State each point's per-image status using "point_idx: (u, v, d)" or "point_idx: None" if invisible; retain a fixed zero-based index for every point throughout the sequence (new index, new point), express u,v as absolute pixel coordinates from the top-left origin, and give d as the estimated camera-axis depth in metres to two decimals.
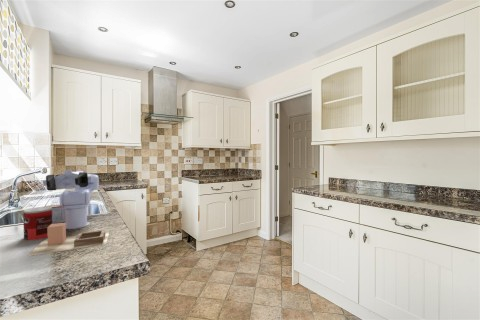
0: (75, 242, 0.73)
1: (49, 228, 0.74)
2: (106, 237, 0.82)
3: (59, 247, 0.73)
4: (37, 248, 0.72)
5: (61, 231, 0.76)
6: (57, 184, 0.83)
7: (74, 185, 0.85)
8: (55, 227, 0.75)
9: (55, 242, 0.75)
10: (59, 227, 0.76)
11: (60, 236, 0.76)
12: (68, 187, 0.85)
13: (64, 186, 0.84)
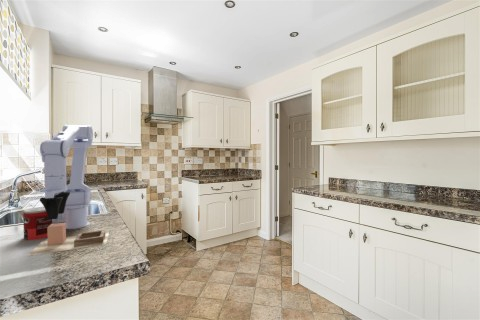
0: (75, 242, 0.73)
1: (49, 228, 0.74)
2: (106, 237, 0.82)
3: (59, 247, 0.73)
4: (37, 248, 0.72)
5: (61, 231, 0.76)
6: None
7: None
8: (55, 227, 0.75)
9: (55, 242, 0.75)
10: (59, 227, 0.76)
11: (60, 236, 0.76)
12: None
13: None
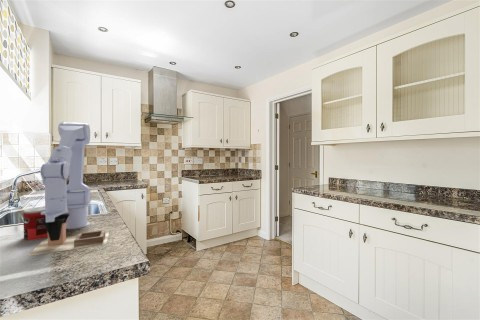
0: (75, 242, 0.73)
1: None
2: (106, 237, 0.82)
3: (59, 247, 0.73)
4: (37, 248, 0.72)
5: (61, 231, 0.76)
6: None
7: None
8: None
9: (55, 242, 0.75)
10: None
11: (60, 236, 0.76)
12: None
13: None
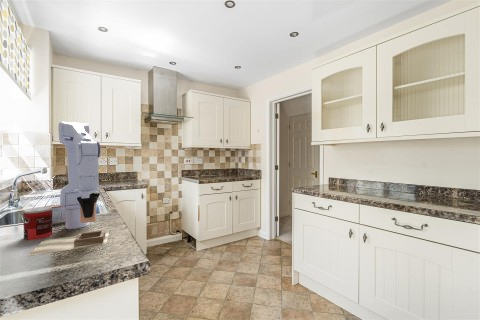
0: (75, 242, 0.73)
1: None
2: (106, 237, 0.82)
3: (59, 247, 0.73)
4: (37, 248, 0.72)
5: None
6: None
7: None
8: None
9: (87, 220, 0.76)
10: None
11: None
12: None
13: None
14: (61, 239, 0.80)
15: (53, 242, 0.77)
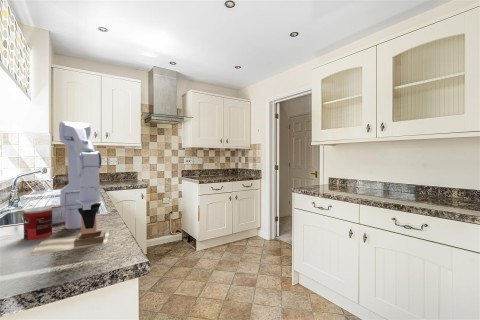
0: (75, 242, 0.73)
1: None
2: (106, 237, 0.82)
3: (59, 247, 0.73)
4: (37, 248, 0.72)
5: None
6: None
7: None
8: None
9: (88, 231, 0.77)
10: None
11: None
12: None
13: None
14: (61, 239, 0.80)
15: (53, 242, 0.77)
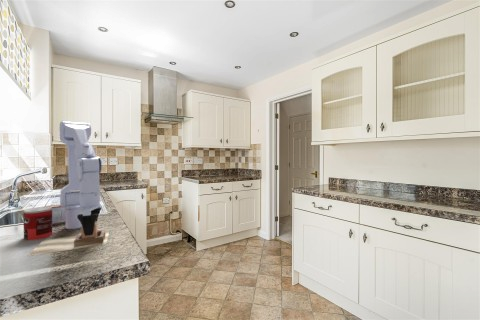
0: (75, 242, 0.73)
1: None
2: (106, 237, 0.82)
3: (59, 247, 0.73)
4: (37, 248, 0.72)
5: (94, 229, 0.77)
6: None
7: None
8: None
9: None
10: None
11: (93, 235, 0.77)
12: None
13: None
14: (61, 239, 0.80)
15: (53, 242, 0.77)
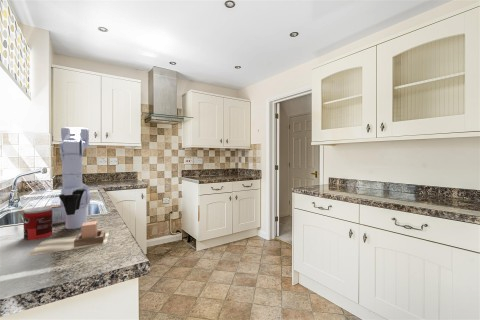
0: (75, 242, 0.73)
1: (83, 226, 0.76)
2: (106, 237, 0.82)
3: (59, 247, 0.73)
4: (37, 248, 0.72)
5: (94, 229, 0.77)
6: None
7: None
8: (89, 225, 0.77)
9: None
10: (92, 226, 0.77)
11: (93, 235, 0.77)
12: None
13: None
14: (61, 239, 0.80)
15: (53, 242, 0.77)
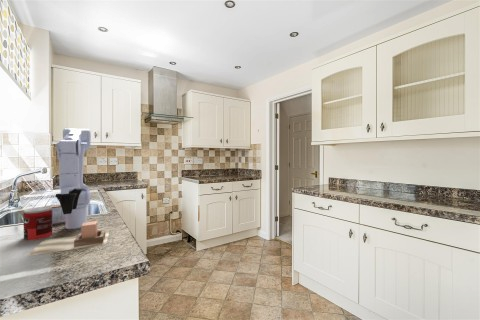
0: (75, 242, 0.73)
1: (83, 226, 0.76)
2: (106, 237, 0.82)
3: (59, 247, 0.73)
4: (37, 248, 0.72)
5: (94, 229, 0.77)
6: None
7: None
8: (89, 225, 0.77)
9: None
10: (92, 226, 0.77)
11: (93, 235, 0.77)
12: None
13: None
14: (61, 239, 0.80)
15: (53, 242, 0.77)
